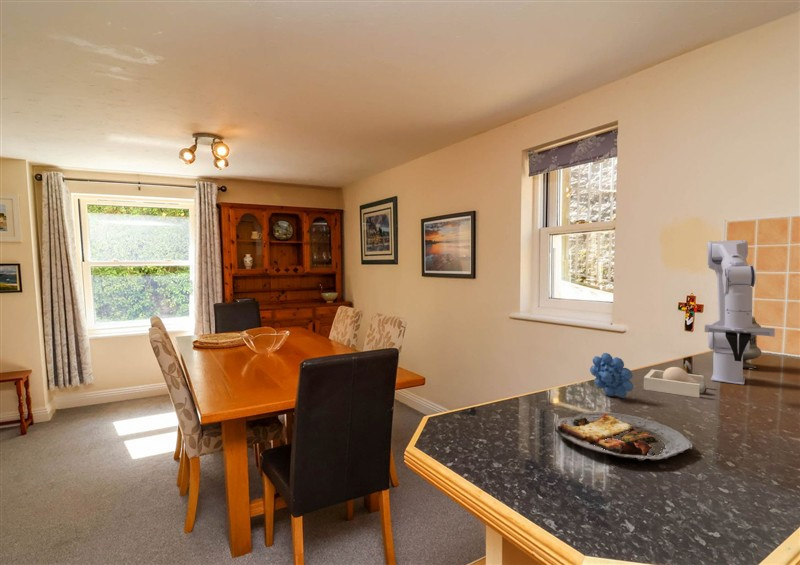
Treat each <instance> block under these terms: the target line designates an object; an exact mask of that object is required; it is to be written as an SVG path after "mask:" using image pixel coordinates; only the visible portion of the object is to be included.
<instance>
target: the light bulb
mask: <svg viewBox="0 0 800 565" xmlns="http://www.w3.org/2000/svg"><path fill="white" fill-rule="evenodd" d="M664 371H665V372H664V373H663V379H666V380H673V381H680V382H688V383H695V384H700V395H701V394H705V393H706V392H707V387H706V386H707V385H705V384H701V383H699V382H698V381H697V380H695V379H693V378H692V377H691V376H690V375H689V374H690V373H688V372H687V371H686V370H684V369H683V368H681V367H678V366H670V367H668V368H666V369H665V370H664Z"/></svg>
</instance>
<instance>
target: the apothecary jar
mask: <svg viewBox="0 0 800 565" xmlns="http://www.w3.org/2000/svg"><path fill="white" fill-rule="evenodd" d="M752 327H761V325H760V324H759V323H758V322H757V320H756V317H755V316H753V315H752ZM761 328H762V327H761ZM749 333H750V332H749ZM757 336H758V335H751V339H750V346H749V350H748V351H747V352H744V354H743V368H754V367H755V366H756V365H755V364H752V363H750V362H747V361H749V360H755V359H758V358H759V357H760V356H761V355H762V349H761V348H759V346H758V344H757V341H758V340H757V339H758V338H757Z"/></svg>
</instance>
